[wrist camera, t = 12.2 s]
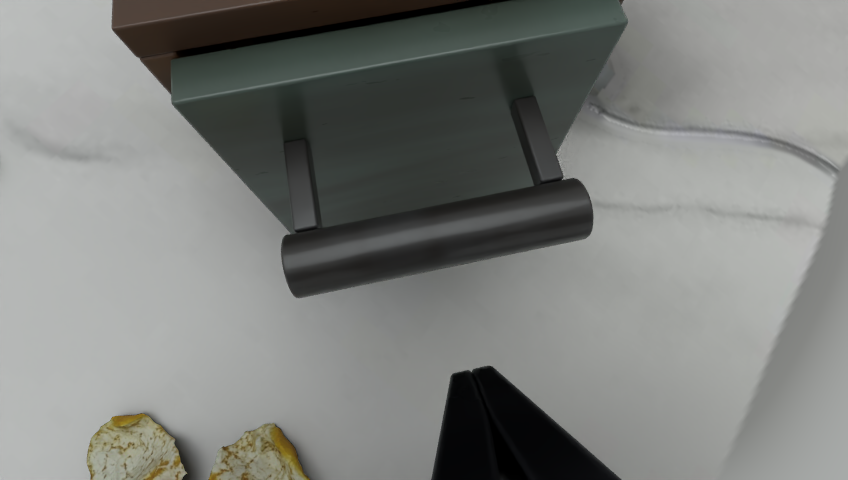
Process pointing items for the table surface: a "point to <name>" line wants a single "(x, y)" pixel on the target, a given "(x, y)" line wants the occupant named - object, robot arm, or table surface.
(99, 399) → the table surface
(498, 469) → the robot arm
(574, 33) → the drawer
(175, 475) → the fruit
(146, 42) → the cabinet
